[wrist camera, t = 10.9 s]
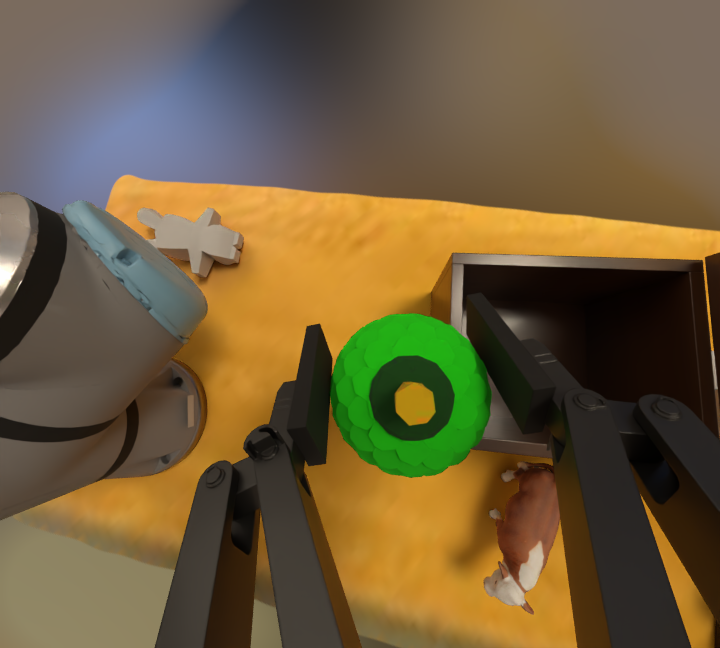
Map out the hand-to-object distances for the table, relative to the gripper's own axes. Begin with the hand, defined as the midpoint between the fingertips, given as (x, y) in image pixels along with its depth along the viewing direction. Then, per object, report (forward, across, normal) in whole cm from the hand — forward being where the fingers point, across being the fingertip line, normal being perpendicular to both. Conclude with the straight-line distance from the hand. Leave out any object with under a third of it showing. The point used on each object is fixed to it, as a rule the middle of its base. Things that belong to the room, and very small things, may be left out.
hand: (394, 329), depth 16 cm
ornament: (0, 0, -5) cm, 5 cm away
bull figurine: (+1, +9, -29) cm, 30 cm away
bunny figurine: (+29, -26, 0) cm, 39 cm away
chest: (+12, +14, -17) cm, 25 cm away
